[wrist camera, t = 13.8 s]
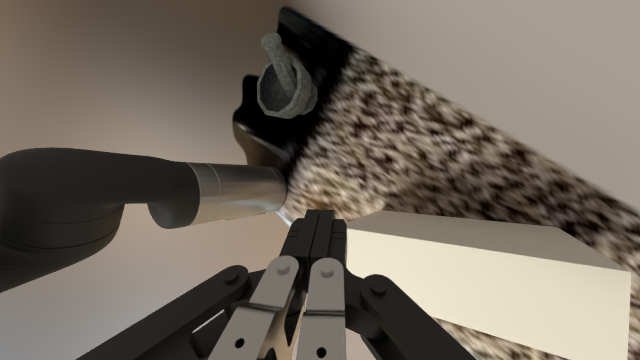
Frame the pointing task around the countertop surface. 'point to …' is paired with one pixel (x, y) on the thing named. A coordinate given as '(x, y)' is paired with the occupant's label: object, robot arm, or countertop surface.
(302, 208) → the countertop surface
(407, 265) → the control box
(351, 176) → the countertop surface
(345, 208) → the countertop surface
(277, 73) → the mortar and pestle
